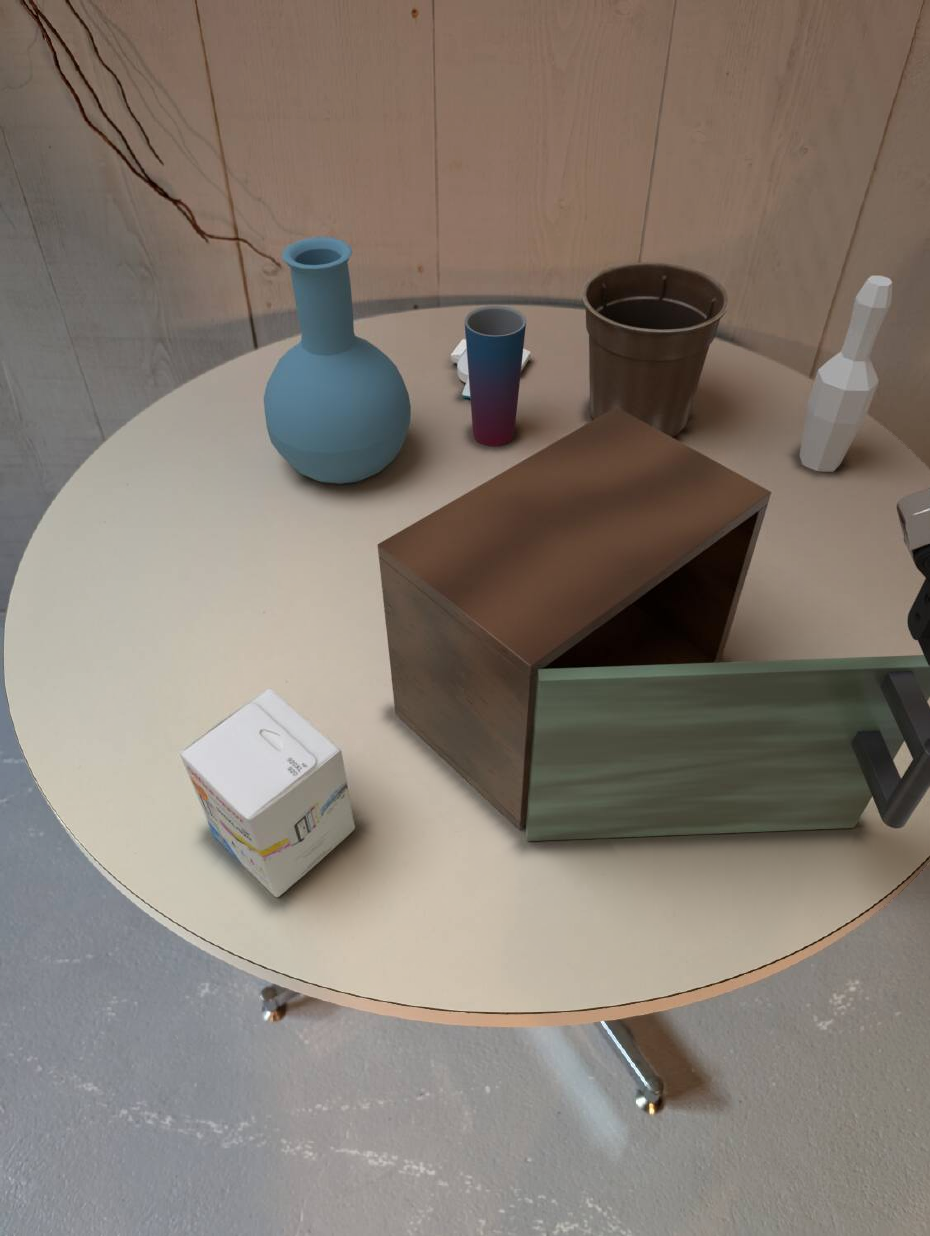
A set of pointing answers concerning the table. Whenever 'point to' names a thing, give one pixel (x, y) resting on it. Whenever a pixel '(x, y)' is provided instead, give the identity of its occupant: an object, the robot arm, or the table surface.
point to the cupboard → (560, 587)
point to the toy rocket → (462, 364)
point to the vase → (333, 378)
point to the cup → (494, 371)
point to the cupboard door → (726, 746)
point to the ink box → (271, 790)
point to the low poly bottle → (845, 383)
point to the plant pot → (650, 339)
